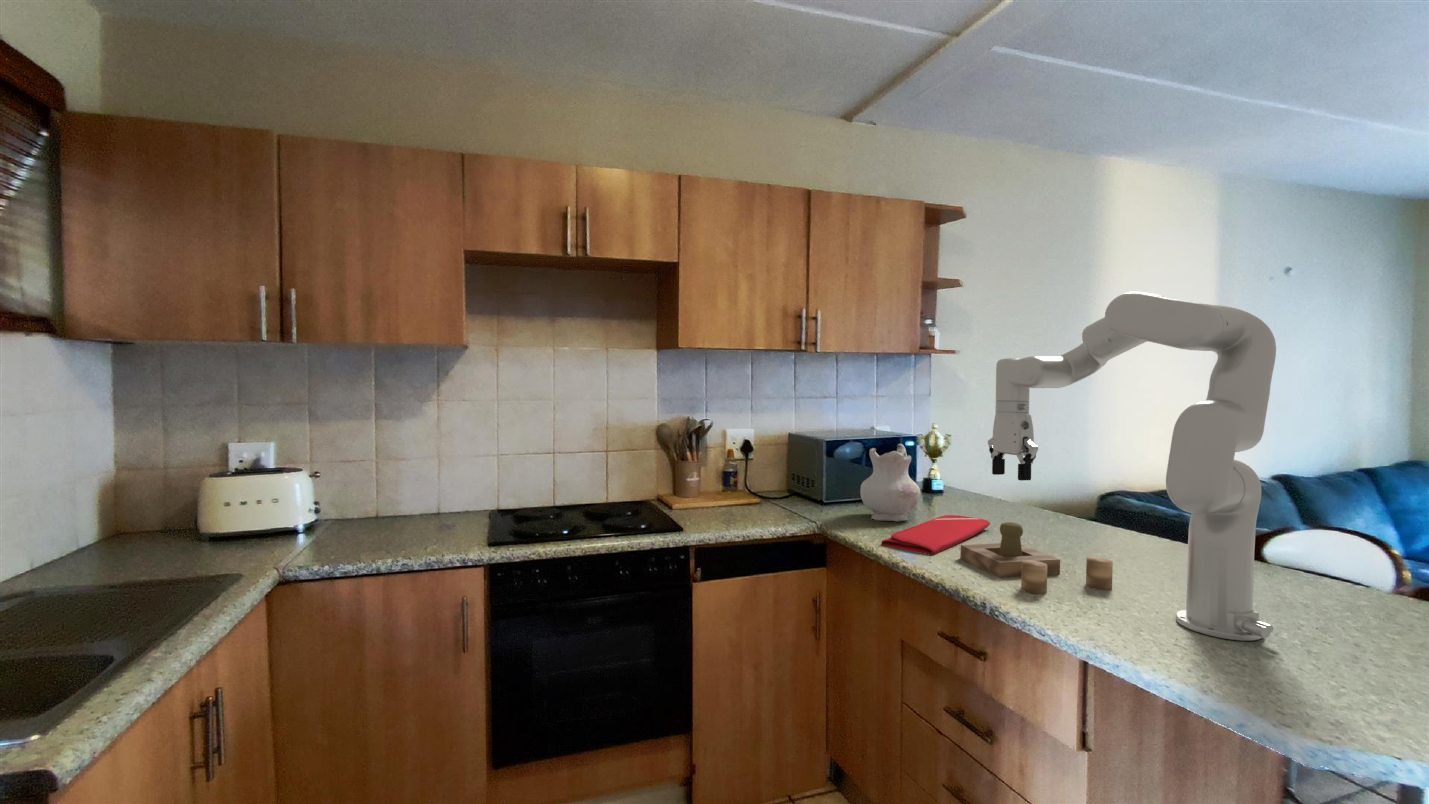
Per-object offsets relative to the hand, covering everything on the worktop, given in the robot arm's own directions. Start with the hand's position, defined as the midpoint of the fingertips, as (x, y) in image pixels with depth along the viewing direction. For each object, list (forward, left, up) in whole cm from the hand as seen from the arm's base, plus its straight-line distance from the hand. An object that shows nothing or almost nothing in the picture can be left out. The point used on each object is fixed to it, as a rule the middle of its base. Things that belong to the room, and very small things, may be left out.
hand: (1010, 477), depth 153 cm
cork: (-1, 0, -22) cm, 23 cm away
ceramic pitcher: (+57, +3, -22) cm, 61 cm away
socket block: (0, 0, -22) cm, 22 cm away
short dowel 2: (-17, -10, -22) cm, 30 cm away
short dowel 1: (-17, +7, -22) cm, 29 cm away
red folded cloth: (+30, +2, -23) cm, 38 cm away
